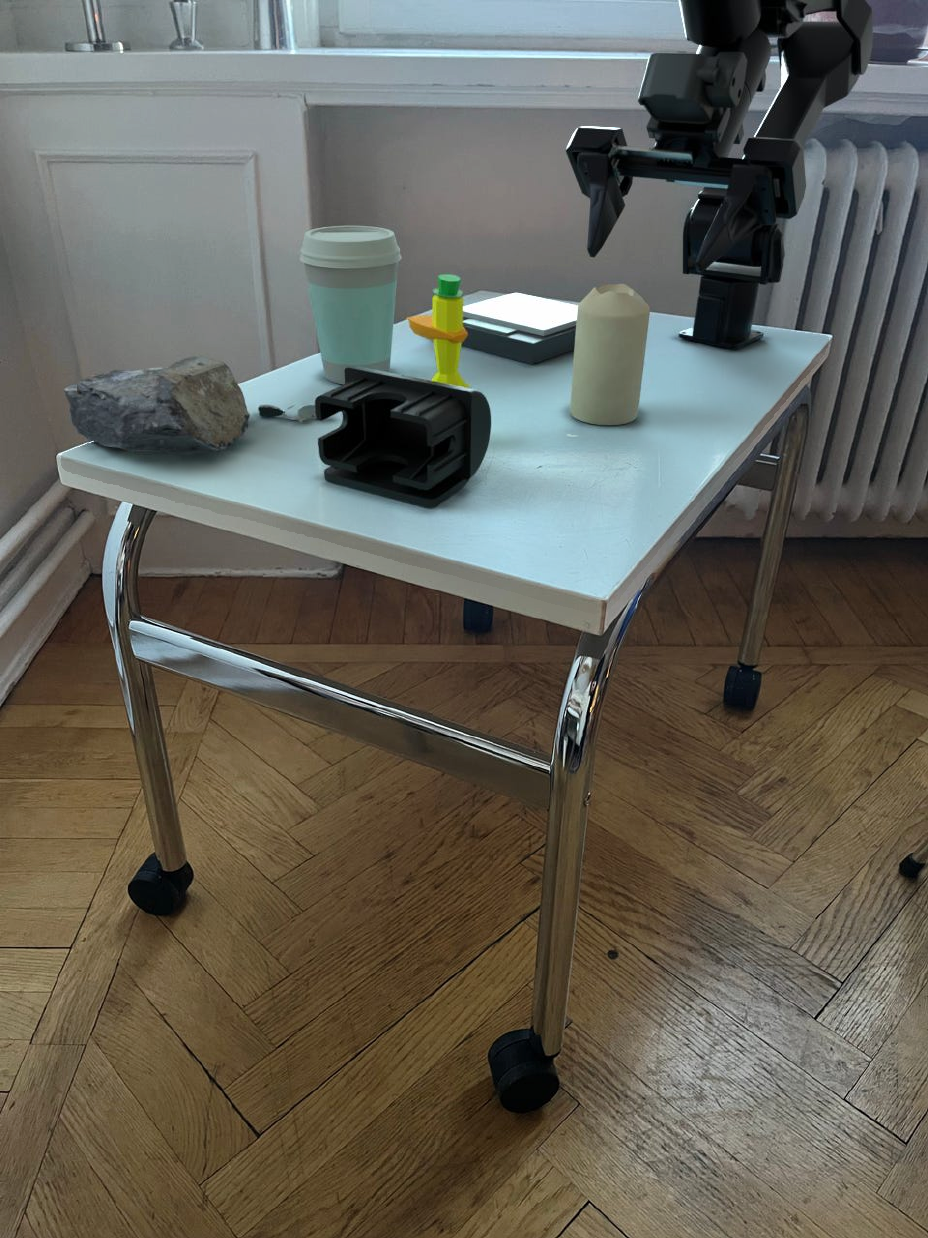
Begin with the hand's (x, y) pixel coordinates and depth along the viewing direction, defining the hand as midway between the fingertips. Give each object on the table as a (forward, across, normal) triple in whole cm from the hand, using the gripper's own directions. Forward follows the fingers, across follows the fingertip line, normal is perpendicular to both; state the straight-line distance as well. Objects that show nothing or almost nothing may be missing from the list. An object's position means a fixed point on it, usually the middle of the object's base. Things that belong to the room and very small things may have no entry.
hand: (642, 260), depth 72 cm
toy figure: (+20, -8, -4) cm, 22 cm away
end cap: (+25, -6, -9) cm, 27 cm away
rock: (+31, -26, -14) cm, 43 cm away
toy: (+23, -20, -8) cm, 32 cm away
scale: (0, -17, +16) cm, 23 cm away
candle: (+11, 0, +5) cm, 12 cm away
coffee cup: (+14, -23, +2) cm, 27 cm away
